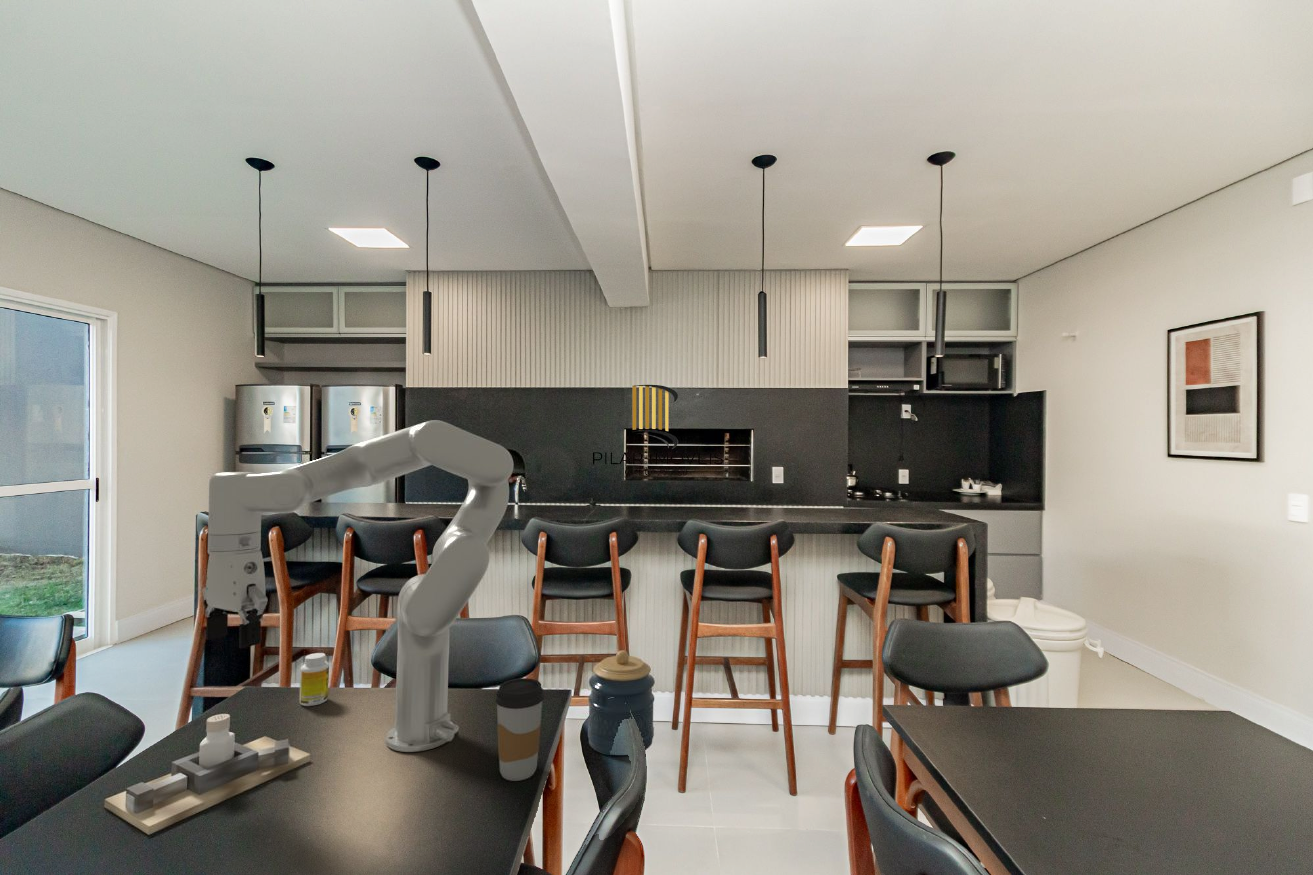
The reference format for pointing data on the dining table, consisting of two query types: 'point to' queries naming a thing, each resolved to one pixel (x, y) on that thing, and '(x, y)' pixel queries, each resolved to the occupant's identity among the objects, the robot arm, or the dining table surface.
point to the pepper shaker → (217, 742)
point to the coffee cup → (519, 727)
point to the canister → (620, 700)
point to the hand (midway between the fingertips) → (232, 641)
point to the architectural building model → (203, 784)
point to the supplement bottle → (314, 680)
